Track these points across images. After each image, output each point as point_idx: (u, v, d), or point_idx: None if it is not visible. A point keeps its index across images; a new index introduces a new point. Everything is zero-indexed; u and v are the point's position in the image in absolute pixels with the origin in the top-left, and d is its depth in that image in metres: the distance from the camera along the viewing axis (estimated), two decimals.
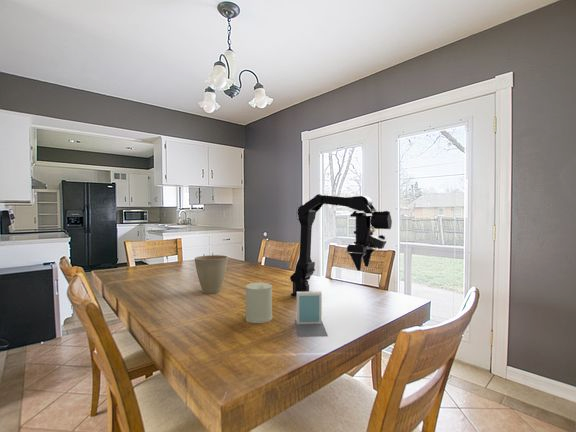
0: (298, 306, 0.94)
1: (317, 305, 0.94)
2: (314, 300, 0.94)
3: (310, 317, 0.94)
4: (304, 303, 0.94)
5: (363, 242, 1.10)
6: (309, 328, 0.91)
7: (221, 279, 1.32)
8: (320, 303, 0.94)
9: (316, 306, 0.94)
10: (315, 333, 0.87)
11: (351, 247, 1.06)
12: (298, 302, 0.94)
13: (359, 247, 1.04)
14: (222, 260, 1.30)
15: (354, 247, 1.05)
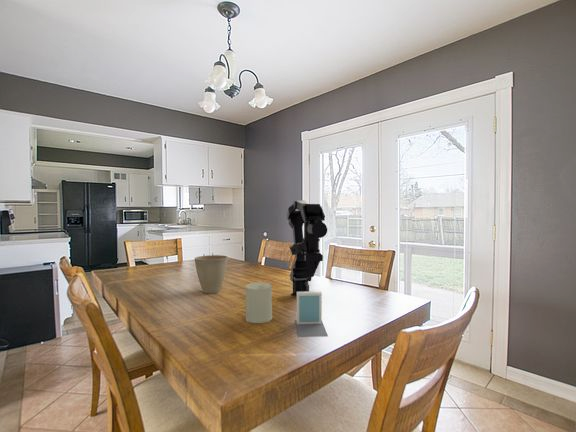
0: (298, 306, 0.94)
1: (317, 305, 0.94)
2: (314, 300, 0.94)
3: (310, 317, 0.94)
4: (304, 303, 0.94)
5: None
6: (309, 328, 0.91)
7: (221, 279, 1.32)
8: (320, 303, 0.94)
9: (316, 306, 0.94)
10: (315, 333, 0.87)
11: None
12: (298, 302, 0.94)
13: None
14: (222, 260, 1.30)
15: None
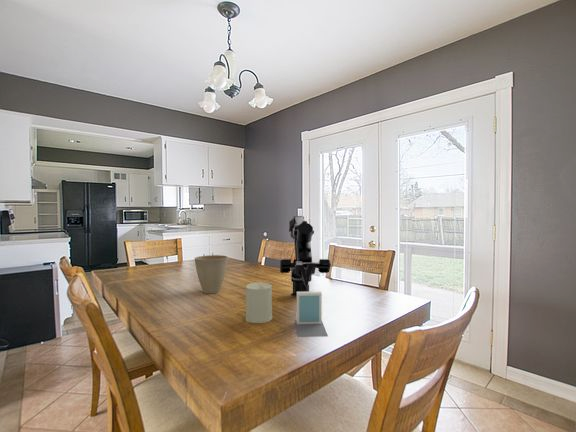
0: (298, 306, 0.94)
1: (317, 305, 0.94)
2: (314, 300, 0.94)
3: (310, 317, 0.94)
4: (304, 303, 0.94)
5: None
6: (309, 328, 0.91)
7: (221, 279, 1.32)
8: (320, 303, 0.94)
9: (316, 306, 0.94)
10: (315, 333, 0.87)
11: None
12: (298, 302, 0.94)
13: None
14: (222, 260, 1.30)
15: None
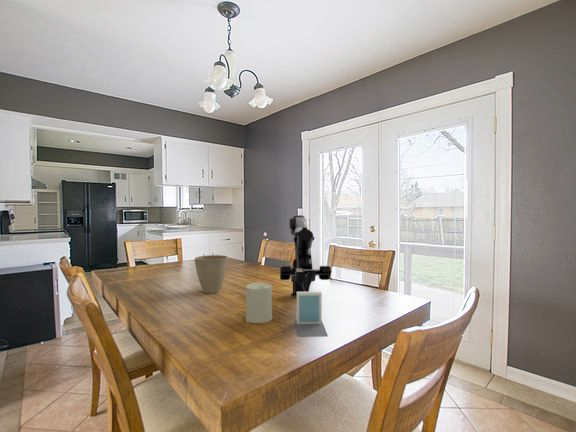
0: (298, 306, 0.94)
1: (317, 305, 0.94)
2: (314, 300, 0.94)
3: (310, 317, 0.94)
4: (304, 303, 0.94)
5: None
6: (309, 328, 0.91)
7: (221, 279, 1.32)
8: (320, 303, 0.94)
9: (316, 306, 0.94)
10: (315, 333, 0.87)
11: None
12: (298, 302, 0.94)
13: None
14: (222, 260, 1.30)
15: None
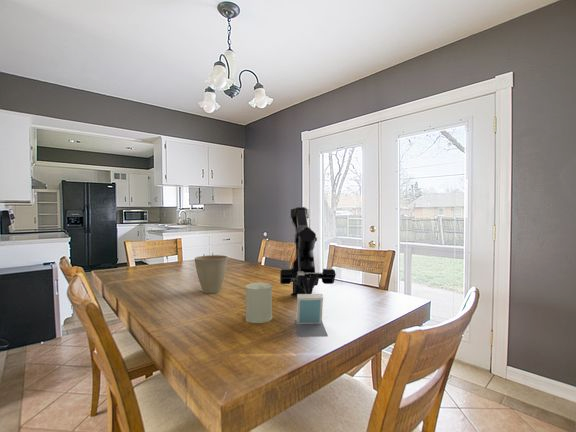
0: (298, 309, 0.92)
1: (318, 308, 0.92)
2: (315, 304, 0.92)
3: (310, 318, 0.93)
4: (305, 307, 0.92)
5: None
6: (309, 328, 0.91)
7: (221, 279, 1.32)
8: (321, 306, 0.92)
9: (317, 309, 0.92)
10: (315, 333, 0.87)
11: None
12: (299, 305, 0.92)
13: None
14: (222, 260, 1.30)
15: None
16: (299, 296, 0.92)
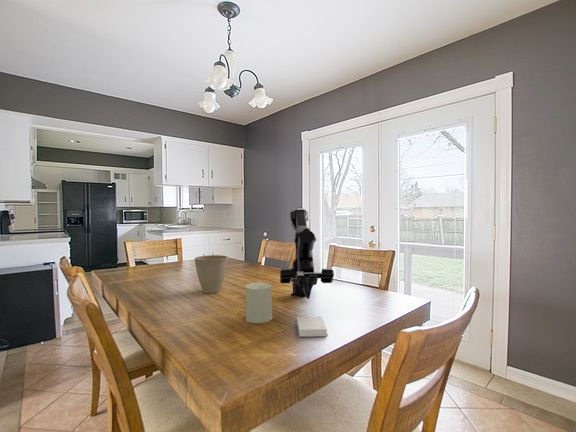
0: None
1: None
2: None
3: None
4: None
5: None
6: None
7: (221, 279, 1.32)
8: None
9: None
10: None
11: None
12: None
13: None
14: (222, 260, 1.30)
15: None
16: (301, 333, 0.84)
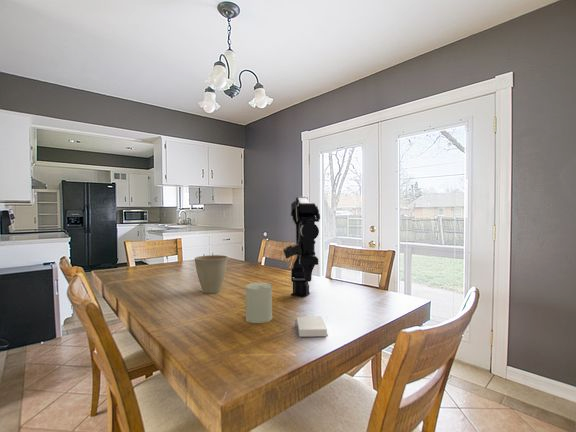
0: None
1: None
2: None
3: None
4: None
5: None
6: None
7: (221, 279, 1.32)
8: None
9: None
10: None
11: None
12: None
13: None
14: (222, 260, 1.30)
15: None
16: (301, 333, 0.84)
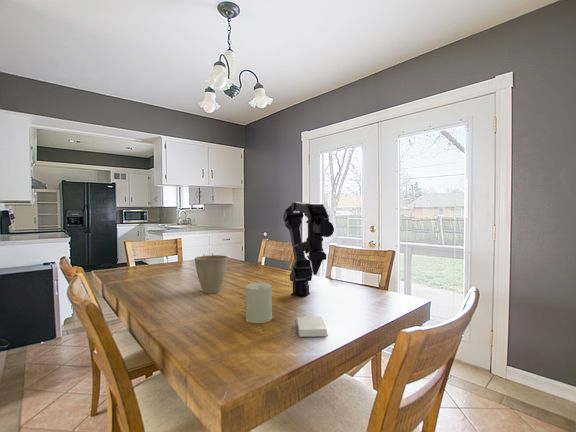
0: None
1: None
2: None
3: None
4: None
5: None
6: None
7: (221, 279, 1.32)
8: None
9: None
10: None
11: None
12: None
13: None
14: (222, 260, 1.30)
15: None
16: (301, 333, 0.84)
